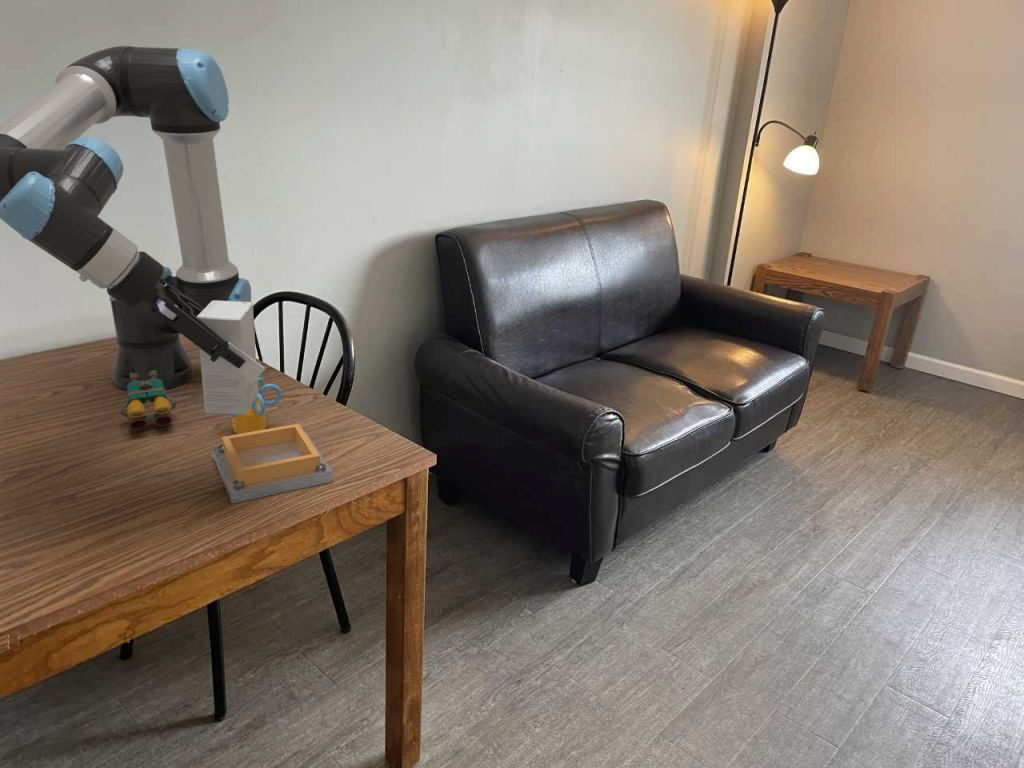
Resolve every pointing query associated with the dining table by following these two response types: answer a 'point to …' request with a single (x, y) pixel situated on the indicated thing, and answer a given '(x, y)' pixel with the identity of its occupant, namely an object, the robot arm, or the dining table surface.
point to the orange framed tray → (272, 486)
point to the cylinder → (255, 412)
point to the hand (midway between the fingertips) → (251, 362)
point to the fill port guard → (276, 467)
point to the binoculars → (140, 395)
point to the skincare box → (218, 379)
